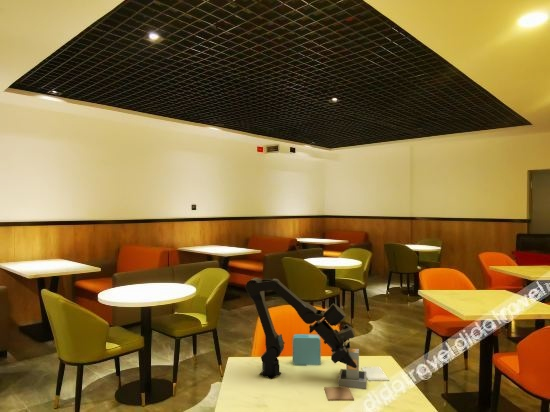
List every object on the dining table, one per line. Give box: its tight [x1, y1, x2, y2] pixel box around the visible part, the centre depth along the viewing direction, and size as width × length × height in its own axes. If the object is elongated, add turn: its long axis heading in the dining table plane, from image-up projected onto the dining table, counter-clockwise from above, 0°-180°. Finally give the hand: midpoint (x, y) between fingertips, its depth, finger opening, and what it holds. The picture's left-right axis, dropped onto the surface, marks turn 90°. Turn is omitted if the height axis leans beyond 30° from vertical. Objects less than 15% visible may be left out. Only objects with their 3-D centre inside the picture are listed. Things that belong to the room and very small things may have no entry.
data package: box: [292, 333, 322, 367], centre depth 169 cm, size 12×4×12 cm, turn 86°
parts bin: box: [337, 368, 367, 390], centre depth 149 cm, size 10×10×3 cm
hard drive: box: [360, 366, 390, 382], centre depth 156 cm, size 2×8×12 cm
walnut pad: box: [323, 386, 355, 402], centre depth 139 cm, size 9×9×1 cm
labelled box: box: [345, 347, 360, 380], centre depth 149 cm, size 4×5×12 cm
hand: (356, 364), depth 149 cm, fingers closed on labelled box, 5 cm apart
